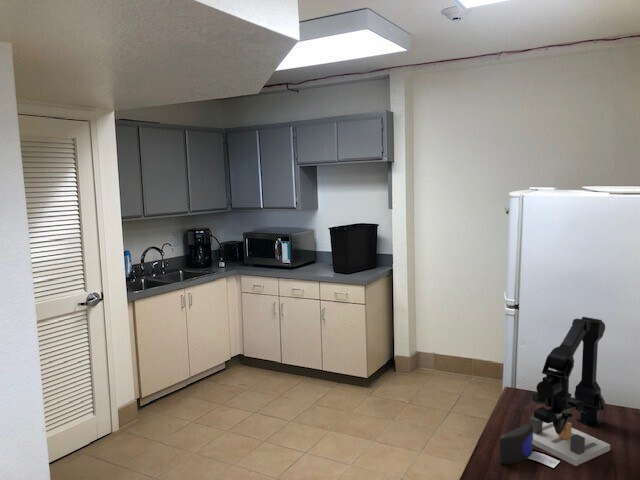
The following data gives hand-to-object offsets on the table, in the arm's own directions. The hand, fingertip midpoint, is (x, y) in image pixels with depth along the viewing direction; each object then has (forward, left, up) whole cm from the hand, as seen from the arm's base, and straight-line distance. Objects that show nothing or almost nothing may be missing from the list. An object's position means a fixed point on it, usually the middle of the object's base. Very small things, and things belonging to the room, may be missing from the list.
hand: (558, 433), depth 178 cm
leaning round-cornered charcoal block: (+17, -3, -5) cm, 18 cm away
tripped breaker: (-3, 0, -2) cm, 4 cm away
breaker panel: (-3, 0, -4) cm, 5 cm away
